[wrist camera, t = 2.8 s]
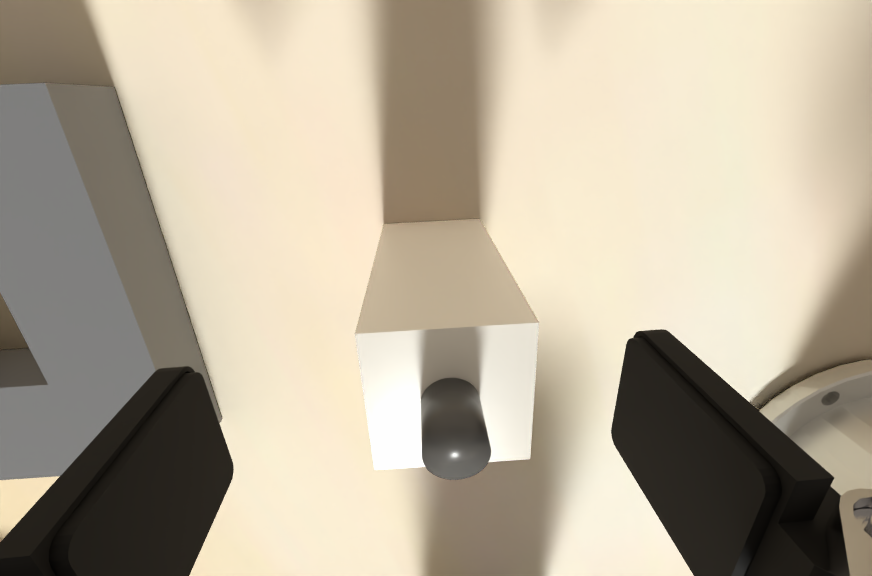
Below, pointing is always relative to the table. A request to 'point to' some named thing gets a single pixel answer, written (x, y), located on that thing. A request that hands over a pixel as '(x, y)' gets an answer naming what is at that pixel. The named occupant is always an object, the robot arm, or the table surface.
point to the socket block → (78, 276)
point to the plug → (445, 351)
